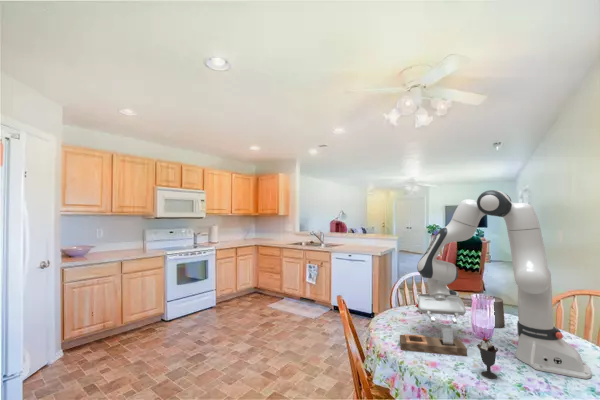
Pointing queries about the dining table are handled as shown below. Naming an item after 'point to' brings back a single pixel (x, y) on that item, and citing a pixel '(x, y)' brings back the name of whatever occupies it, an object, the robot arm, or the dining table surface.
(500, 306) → the pillar candle
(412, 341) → the walnut rail
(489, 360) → the sundae
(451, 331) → the steel post
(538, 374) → the dining table surface
